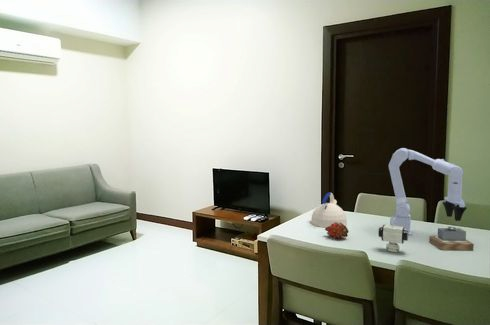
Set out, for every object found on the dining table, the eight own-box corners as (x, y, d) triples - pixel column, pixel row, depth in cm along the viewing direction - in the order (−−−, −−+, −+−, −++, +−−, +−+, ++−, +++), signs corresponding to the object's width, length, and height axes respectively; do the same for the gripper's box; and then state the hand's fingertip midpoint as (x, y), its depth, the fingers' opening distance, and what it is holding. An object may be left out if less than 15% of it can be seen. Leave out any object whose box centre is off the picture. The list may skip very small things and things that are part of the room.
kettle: (351, 221, 202) (352, 191, 201) (340, 230, 185) (341, 197, 183) (318, 217, 213) (318, 188, 211) (305, 225, 196) (305, 193, 194)
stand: (440, 249, 154) (441, 242, 154) (429, 241, 165) (429, 235, 165) (473, 250, 153) (473, 243, 153) (459, 242, 164) (459, 235, 164)
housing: (442, 240, 157) (443, 229, 156) (437, 237, 162) (438, 226, 161) (465, 241, 156) (466, 229, 156) (459, 237, 161) (460, 226, 161)
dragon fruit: (349, 243, 168) (326, 242, 175) (352, 230, 174) (329, 229, 180) (344, 232, 164) (321, 232, 171) (347, 218, 170) (324, 219, 176)
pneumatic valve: (379, 247, 158) (380, 221, 157) (407, 251, 153) (408, 225, 151) (377, 250, 154) (378, 224, 153) (406, 255, 148) (407, 228, 147)
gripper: (472, 193, 159) (470, 222, 160) (455, 188, 173) (453, 214, 175) (456, 193, 159) (455, 222, 161) (440, 188, 174) (439, 214, 175)
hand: (453, 218), depth 168 cm, fingers open, 7 cm apart
